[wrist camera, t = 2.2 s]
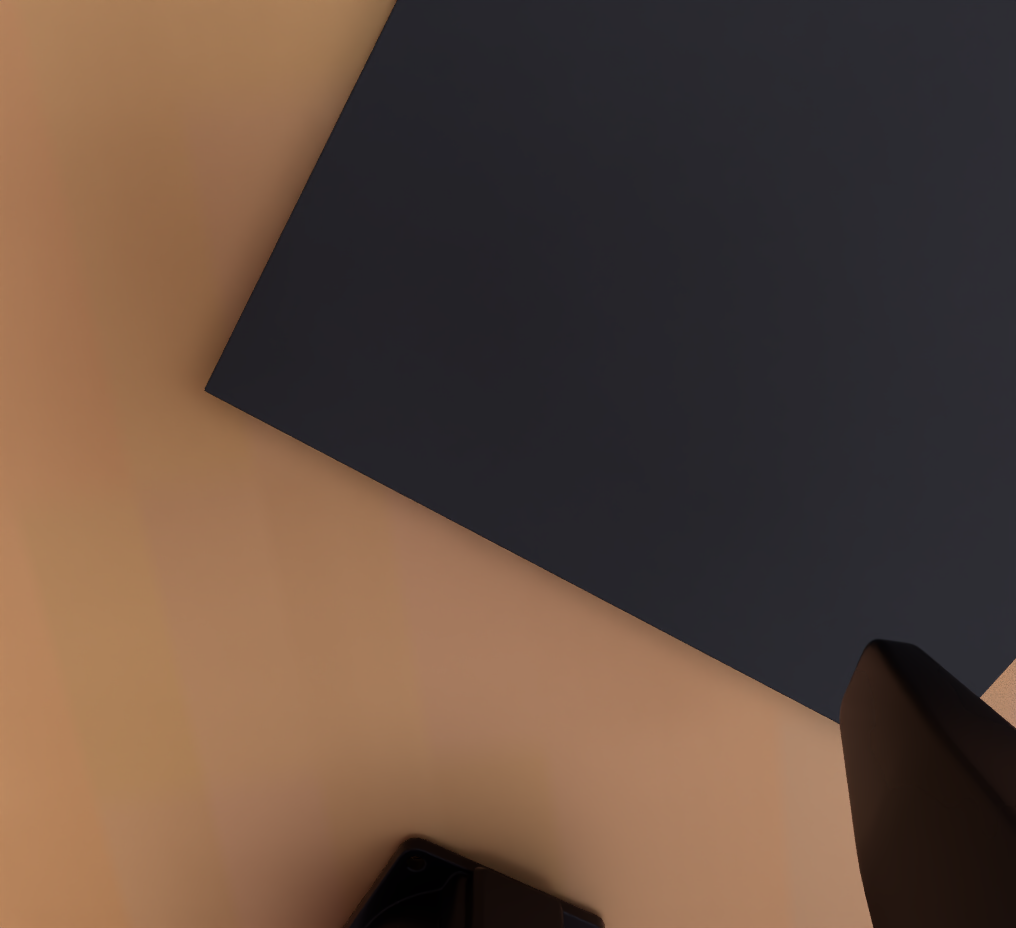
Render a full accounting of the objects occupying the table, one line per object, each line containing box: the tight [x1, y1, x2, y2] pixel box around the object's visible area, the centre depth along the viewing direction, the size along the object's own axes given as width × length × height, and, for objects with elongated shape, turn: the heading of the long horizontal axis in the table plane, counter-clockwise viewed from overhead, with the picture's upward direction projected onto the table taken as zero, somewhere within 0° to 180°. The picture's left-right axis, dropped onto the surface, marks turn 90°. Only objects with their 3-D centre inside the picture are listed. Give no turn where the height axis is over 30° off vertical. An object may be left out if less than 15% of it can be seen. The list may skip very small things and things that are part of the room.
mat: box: [205, 0, 1016, 724], centre depth 19 cm, size 18×20×1 cm
